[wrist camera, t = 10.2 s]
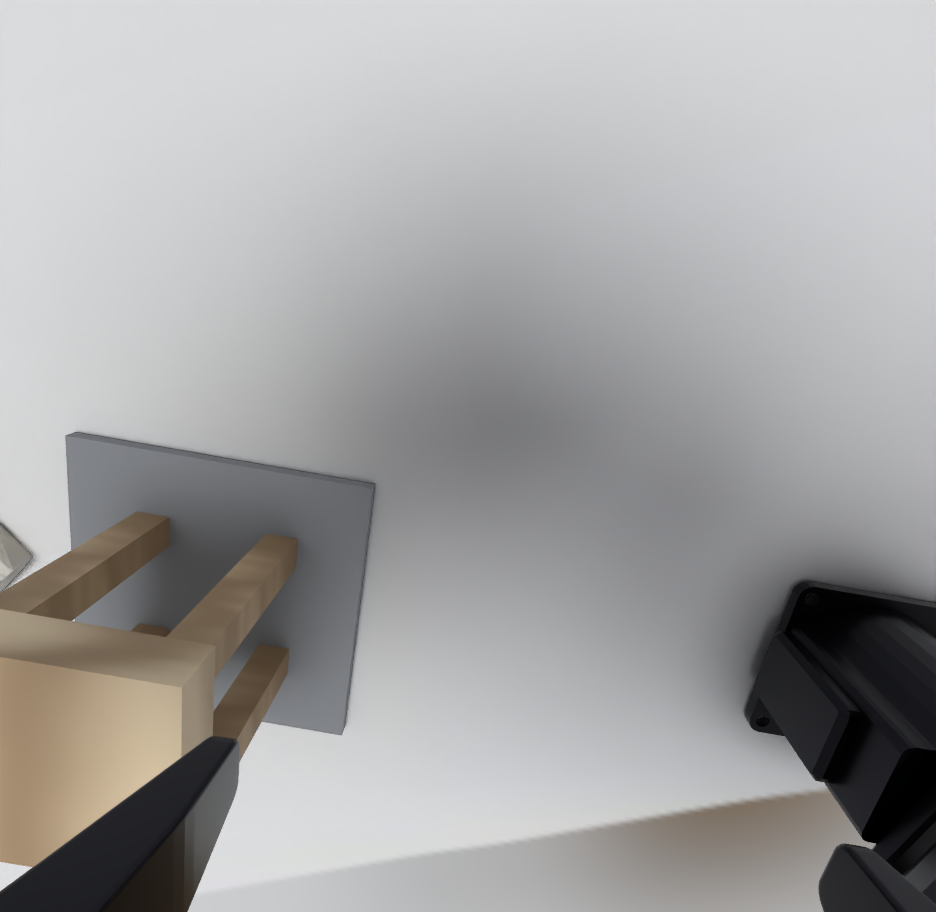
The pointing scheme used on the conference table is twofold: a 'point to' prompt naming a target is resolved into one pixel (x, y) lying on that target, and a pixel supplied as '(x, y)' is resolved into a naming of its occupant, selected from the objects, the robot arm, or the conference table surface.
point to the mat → (234, 558)
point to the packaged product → (11, 557)
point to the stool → (120, 682)
